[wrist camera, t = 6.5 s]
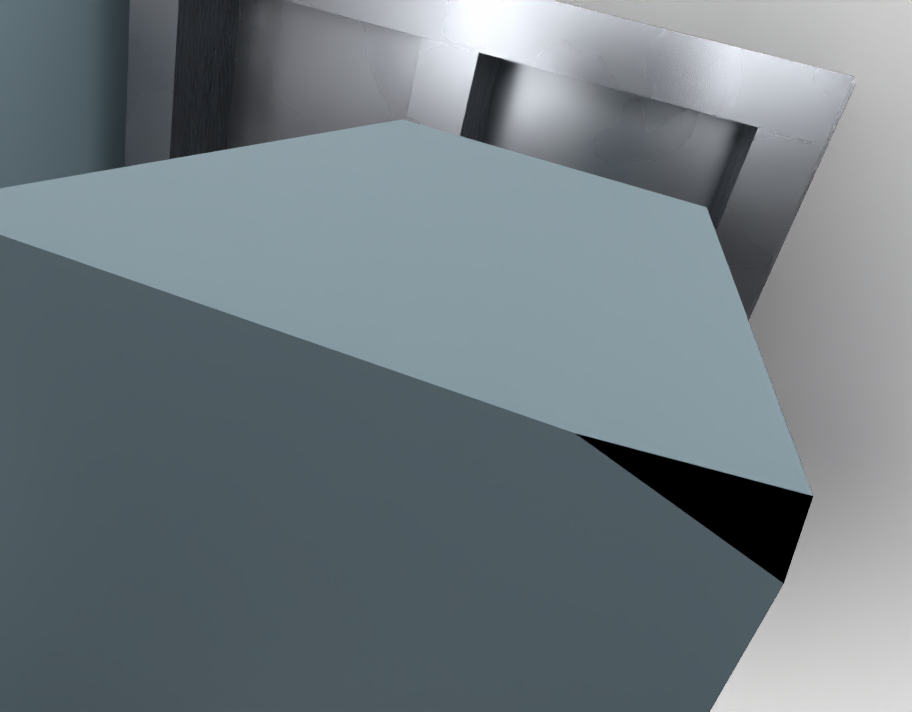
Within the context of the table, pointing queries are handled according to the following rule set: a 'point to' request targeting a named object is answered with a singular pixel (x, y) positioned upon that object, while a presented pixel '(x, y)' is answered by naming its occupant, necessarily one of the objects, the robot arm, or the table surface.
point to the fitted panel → (62, 88)
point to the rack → (497, 96)
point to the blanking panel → (379, 437)
